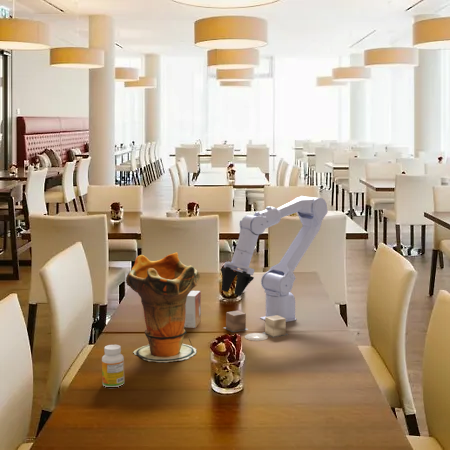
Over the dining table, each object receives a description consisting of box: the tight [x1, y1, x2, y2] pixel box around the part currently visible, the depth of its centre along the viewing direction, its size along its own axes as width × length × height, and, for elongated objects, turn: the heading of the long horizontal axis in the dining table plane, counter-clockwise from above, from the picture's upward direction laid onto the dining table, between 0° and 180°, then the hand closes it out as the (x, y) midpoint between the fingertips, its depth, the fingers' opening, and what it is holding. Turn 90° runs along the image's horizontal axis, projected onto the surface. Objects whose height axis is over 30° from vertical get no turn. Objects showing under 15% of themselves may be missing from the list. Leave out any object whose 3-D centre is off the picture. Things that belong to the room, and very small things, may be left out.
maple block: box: [264, 315, 287, 338], centre depth 214 cm, size 4×4×5 cm
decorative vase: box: [125, 251, 201, 363], centre depth 195 cm, size 21×23×28 cm
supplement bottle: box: [101, 344, 125, 388], centre depth 172 cm, size 5×5×10 cm
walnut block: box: [225, 310, 247, 332], centre depth 219 cm, size 4×4×5 cm
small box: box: [184, 290, 202, 329], centre depth 224 cm, size 8×6×10 cm
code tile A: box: [223, 326, 250, 333], centre depth 220 cm, size 6×6×1 cm
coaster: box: [244, 332, 269, 342], centre depth 210 cm, size 7×7×1 cm
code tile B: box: [262, 331, 289, 339], centre depth 214 cm, size 6×6×1 cm
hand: (230, 293), depth 217 cm, fingers open, 7 cm apart
